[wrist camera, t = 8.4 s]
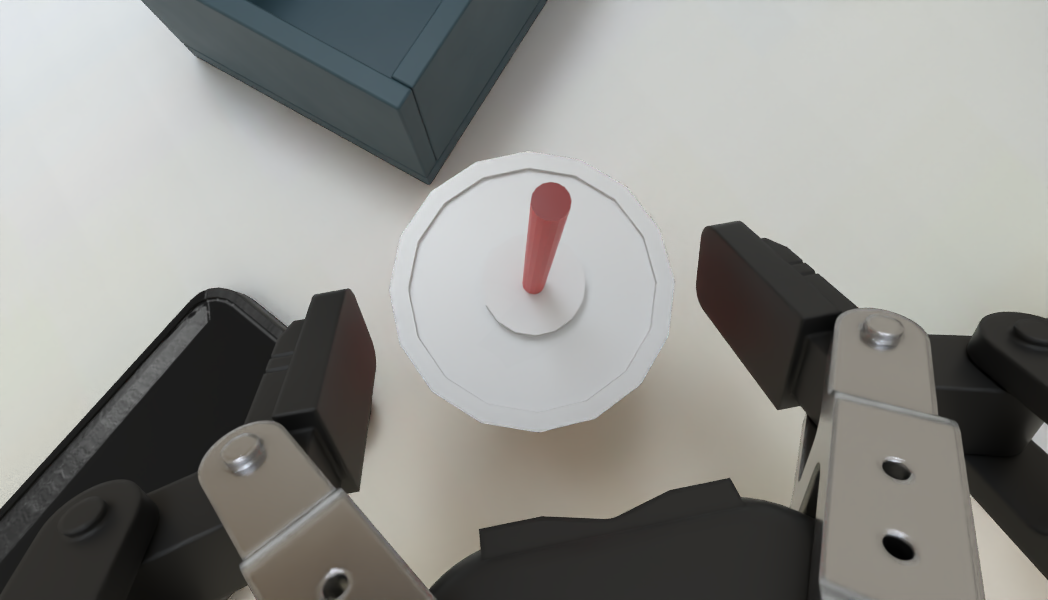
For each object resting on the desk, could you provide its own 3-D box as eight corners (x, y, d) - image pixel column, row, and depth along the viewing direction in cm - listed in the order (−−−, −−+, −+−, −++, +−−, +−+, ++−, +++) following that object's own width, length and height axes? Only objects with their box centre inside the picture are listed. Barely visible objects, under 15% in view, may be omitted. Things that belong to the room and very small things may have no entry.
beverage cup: (634, 325, 20) (918, 192, 6) (527, 444, 19) (569, 611, 5) (520, 222, 20) (536, -120, 6) (411, 332, 19) (166, 210, 6)
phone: (-112, 631, 16) (212, 274, 18) (-72, 615, 17) (230, 280, 19) (61, 800, 16) (377, 409, 18) (92, 772, 17) (385, 408, 19)
